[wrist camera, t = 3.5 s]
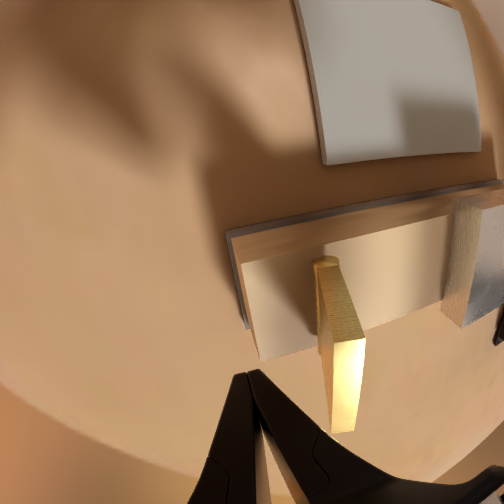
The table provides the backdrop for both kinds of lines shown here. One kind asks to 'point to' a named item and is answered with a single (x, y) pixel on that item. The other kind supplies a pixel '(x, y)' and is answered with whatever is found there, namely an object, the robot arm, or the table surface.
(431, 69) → the mat
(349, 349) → the gold flat block
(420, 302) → the body
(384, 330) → the table surface
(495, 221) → the cap plate
